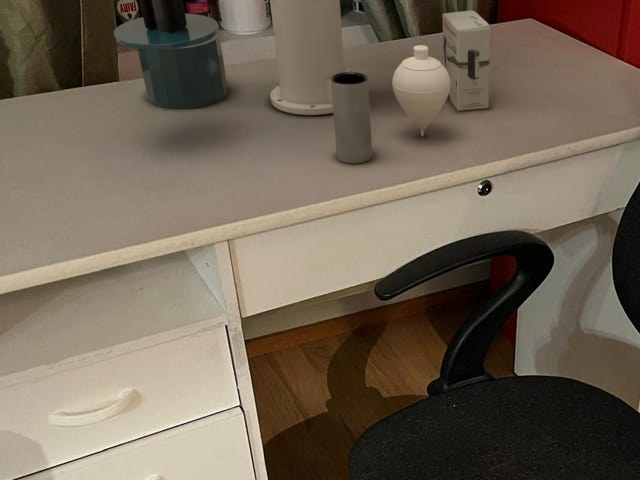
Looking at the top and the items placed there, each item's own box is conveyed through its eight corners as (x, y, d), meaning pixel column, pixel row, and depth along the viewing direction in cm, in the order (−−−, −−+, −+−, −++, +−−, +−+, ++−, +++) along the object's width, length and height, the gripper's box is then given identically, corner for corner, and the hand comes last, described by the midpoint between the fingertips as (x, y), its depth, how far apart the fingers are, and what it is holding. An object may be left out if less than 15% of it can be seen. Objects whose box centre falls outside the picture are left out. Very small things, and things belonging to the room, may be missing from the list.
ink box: (441, 91, 132) (441, 11, 125) (472, 89, 133) (474, 9, 126) (457, 111, 125) (458, 28, 118) (489, 109, 127) (492, 25, 119)
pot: (242, 88, 131) (234, 30, 126) (196, 113, 122) (185, 53, 117) (180, 77, 134) (170, 20, 129) (131, 100, 126) (117, 41, 120)
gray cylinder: (376, 151, 113) (372, 73, 107) (366, 165, 110) (361, 85, 104) (343, 148, 114) (337, 70, 108) (332, 161, 111) (325, 82, 104)
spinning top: (427, 120, 122) (425, 34, 115) (461, 137, 118) (462, 48, 111) (383, 133, 118) (379, 44, 111) (417, 152, 114) (415, 60, 106)
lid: (239, 30, 110) (232, -13, 107) (178, 60, 101) (168, 14, 98) (160, 18, 114) (151, -24, 110) (93, 46, 105) (82, 1, 101)
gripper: (212, -143, 96) (239, 27, 107) (96, -153, 100) (134, 11, 112) (168, -133, 90) (202, 45, 101) (48, -144, 95) (93, 28, 106)
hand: (166, 26), depth 106 cm, fingers closed on lid, 2 cm apart
